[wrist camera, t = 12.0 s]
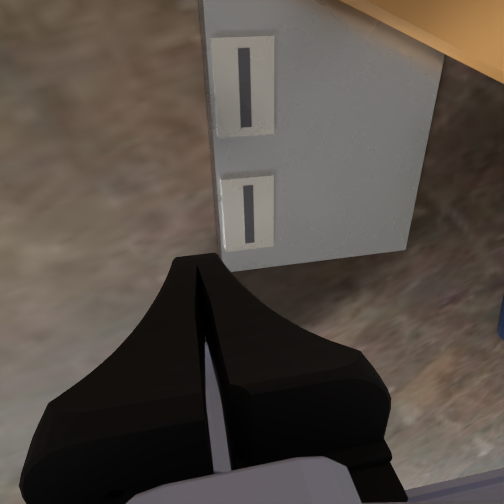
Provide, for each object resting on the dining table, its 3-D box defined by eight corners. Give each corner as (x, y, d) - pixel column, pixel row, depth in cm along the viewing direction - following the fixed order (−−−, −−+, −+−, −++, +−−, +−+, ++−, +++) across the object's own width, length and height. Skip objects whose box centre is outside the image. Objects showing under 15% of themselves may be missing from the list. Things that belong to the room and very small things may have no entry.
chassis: (385, 231, 26) (408, 252, 23) (217, 250, 24) (223, 276, 22) (429, -33, 19) (469, -41, 16) (195, -31, 17) (200, -40, 15)
